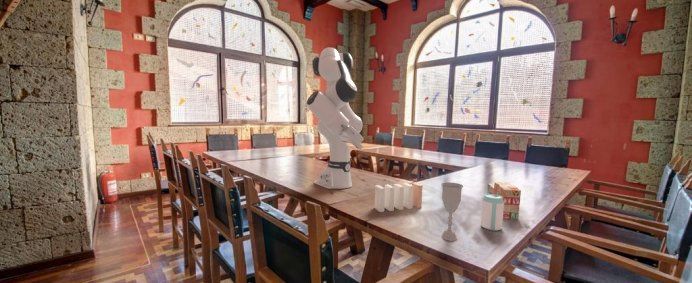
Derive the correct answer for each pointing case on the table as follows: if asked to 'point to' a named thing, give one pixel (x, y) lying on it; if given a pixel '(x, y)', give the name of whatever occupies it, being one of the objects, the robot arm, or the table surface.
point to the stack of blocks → (507, 198)
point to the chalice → (451, 206)
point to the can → (492, 212)
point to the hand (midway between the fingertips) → (360, 147)
